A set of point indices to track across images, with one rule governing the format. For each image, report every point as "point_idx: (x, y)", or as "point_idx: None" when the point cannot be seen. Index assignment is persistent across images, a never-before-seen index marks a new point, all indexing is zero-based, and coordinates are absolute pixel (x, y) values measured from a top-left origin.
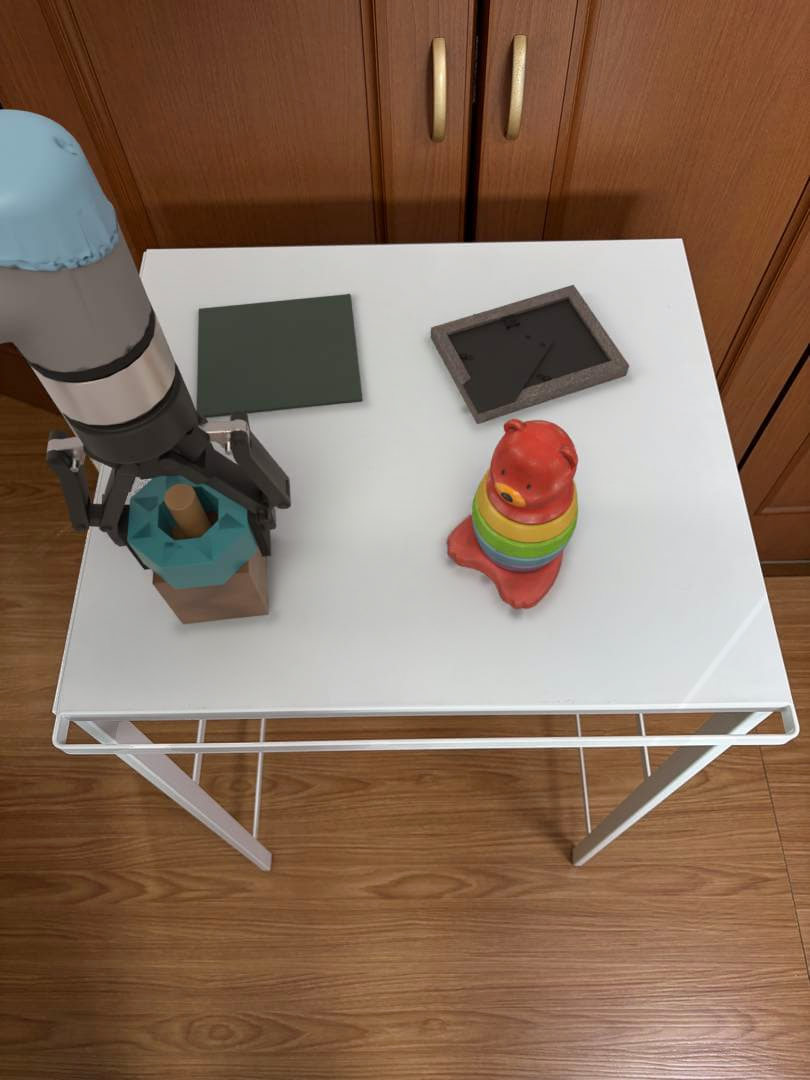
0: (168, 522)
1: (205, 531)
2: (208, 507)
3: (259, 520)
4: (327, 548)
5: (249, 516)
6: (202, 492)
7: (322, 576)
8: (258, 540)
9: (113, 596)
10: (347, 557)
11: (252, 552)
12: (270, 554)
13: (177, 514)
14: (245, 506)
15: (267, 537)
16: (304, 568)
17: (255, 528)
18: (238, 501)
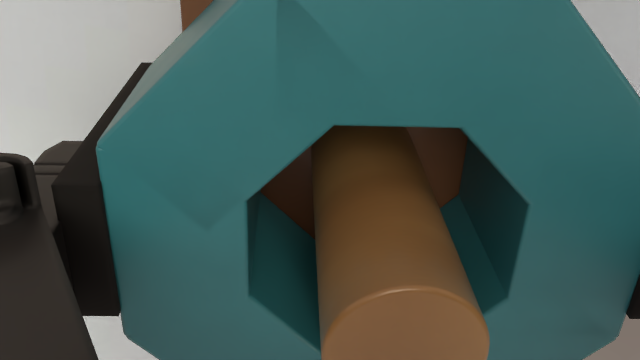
0: (471, 219)
1: (330, 163)
2: None
3: (12, 172)
4: (70, 101)
5: (90, 201)
6: None
7: (77, 22)
8: None
9: (624, 47)
10: (13, 68)
11: (159, 58)
12: (140, 65)
13: (429, 257)
14: (43, 258)
15: None
16: (128, 53)
17: None
18: (51, 297)
